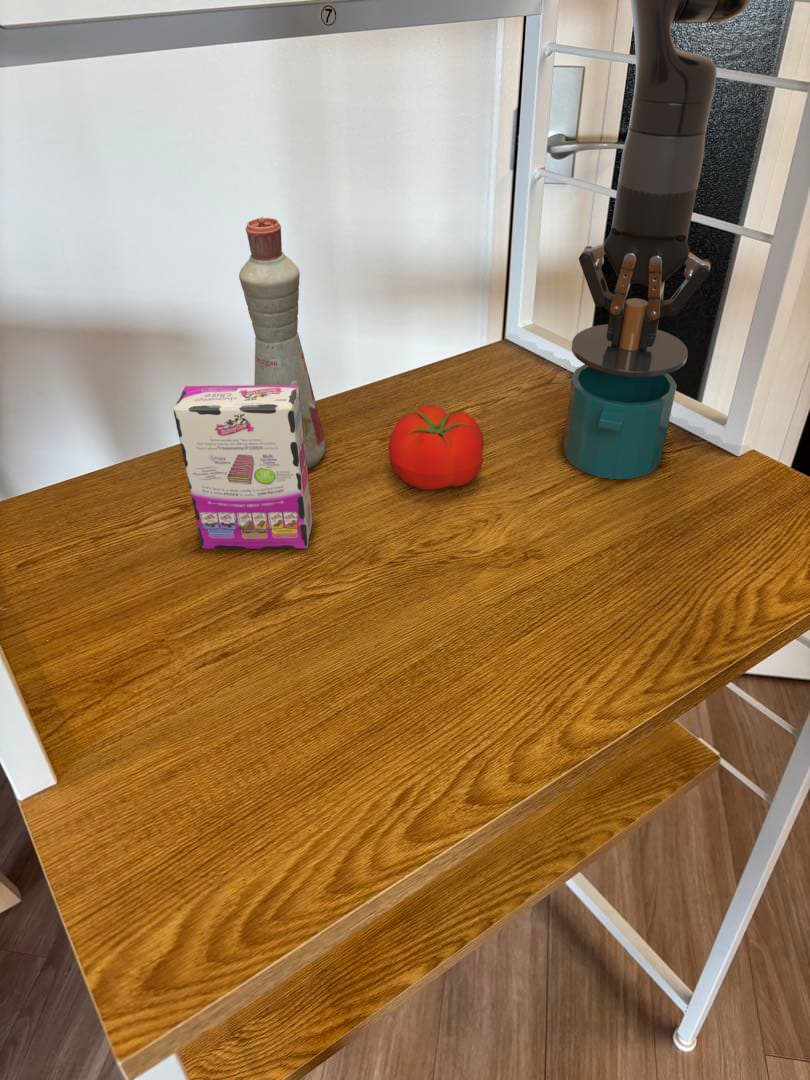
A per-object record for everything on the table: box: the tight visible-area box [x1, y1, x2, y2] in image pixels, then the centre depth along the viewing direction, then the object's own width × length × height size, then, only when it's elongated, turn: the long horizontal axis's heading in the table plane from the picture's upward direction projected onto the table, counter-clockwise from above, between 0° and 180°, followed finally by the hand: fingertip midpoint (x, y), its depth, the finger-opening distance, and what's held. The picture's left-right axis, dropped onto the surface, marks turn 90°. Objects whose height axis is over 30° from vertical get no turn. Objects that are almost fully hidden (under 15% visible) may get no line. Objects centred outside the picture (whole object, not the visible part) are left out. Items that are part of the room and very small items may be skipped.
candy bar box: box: [173, 384, 314, 550], centre depth 82 cm, size 11×5×16 cm, turn 89°
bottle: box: [238, 216, 326, 470], centre depth 90 cm, size 9×9×28 cm
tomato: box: [387, 405, 485, 491], centre depth 93 cm, size 11×11×8 cm
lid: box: [571, 297, 689, 377], centre depth 90 cm, size 12×12×6 cm
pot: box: [562, 363, 678, 480], centre depth 96 cm, size 11×17×10 cm
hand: (629, 345), depth 91 cm, fingers closed on lid, 2 cm apart
